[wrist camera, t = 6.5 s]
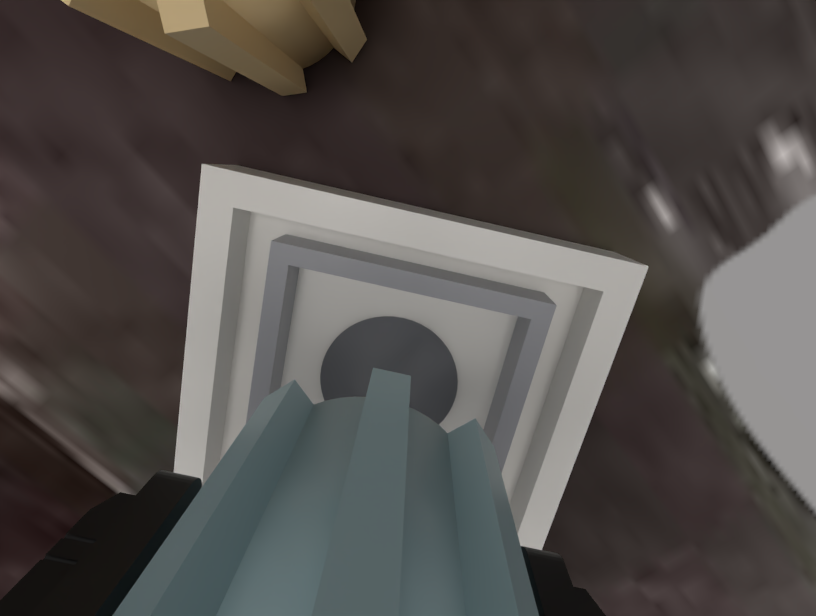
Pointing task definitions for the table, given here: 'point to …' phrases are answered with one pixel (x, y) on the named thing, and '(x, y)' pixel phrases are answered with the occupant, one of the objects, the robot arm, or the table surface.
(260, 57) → the amber gear
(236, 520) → the teal gear
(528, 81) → the table surface
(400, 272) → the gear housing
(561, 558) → the robot arm
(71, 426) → the table surface
